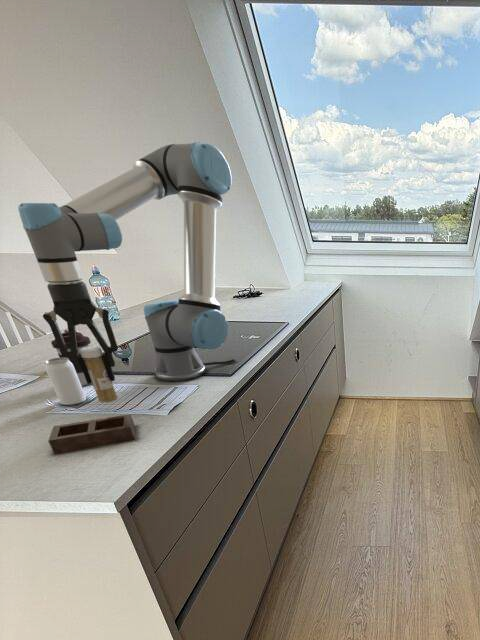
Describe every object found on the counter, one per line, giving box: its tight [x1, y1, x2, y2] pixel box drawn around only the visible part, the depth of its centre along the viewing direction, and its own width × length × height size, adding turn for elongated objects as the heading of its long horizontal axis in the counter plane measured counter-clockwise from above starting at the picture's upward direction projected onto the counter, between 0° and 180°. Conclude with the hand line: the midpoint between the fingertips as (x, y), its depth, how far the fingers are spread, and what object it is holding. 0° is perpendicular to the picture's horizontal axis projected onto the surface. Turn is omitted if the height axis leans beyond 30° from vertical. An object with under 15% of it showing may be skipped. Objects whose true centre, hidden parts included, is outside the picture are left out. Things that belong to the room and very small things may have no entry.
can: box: [44, 357, 87, 406], centre depth 128 cm, size 6×6×12 cm
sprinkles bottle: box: [80, 346, 118, 403], centre depth 115 cm, size 5×5×13 cm
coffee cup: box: [50, 331, 93, 386], centre depth 141 cm, size 10×10×15 cm
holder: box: [48, 413, 136, 455], centre depth 109 cm, size 16×9×4 cm, turn 117°
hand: (101, 380), depth 116 cm, fingers closed on sprinkles bottle, 5 cm apart
